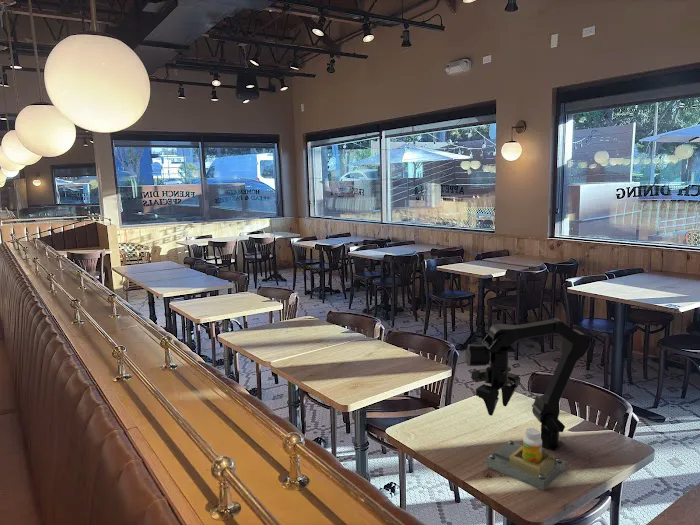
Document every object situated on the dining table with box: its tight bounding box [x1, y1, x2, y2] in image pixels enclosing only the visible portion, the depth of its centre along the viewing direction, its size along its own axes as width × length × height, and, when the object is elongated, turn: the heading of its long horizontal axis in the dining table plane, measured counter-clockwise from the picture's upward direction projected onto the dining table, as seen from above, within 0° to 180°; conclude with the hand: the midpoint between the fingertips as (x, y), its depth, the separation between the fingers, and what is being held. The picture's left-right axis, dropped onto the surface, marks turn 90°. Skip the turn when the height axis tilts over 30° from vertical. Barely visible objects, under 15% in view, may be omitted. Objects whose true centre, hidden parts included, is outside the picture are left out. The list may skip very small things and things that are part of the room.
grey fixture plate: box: [485, 440, 566, 491], centre depth 156 cm, size 14×18×5 cm
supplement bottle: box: [522, 427, 543, 465], centre depth 153 cm, size 5×5×10 cm
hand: (497, 410), depth 167 cm, fingers open, 9 cm apart
